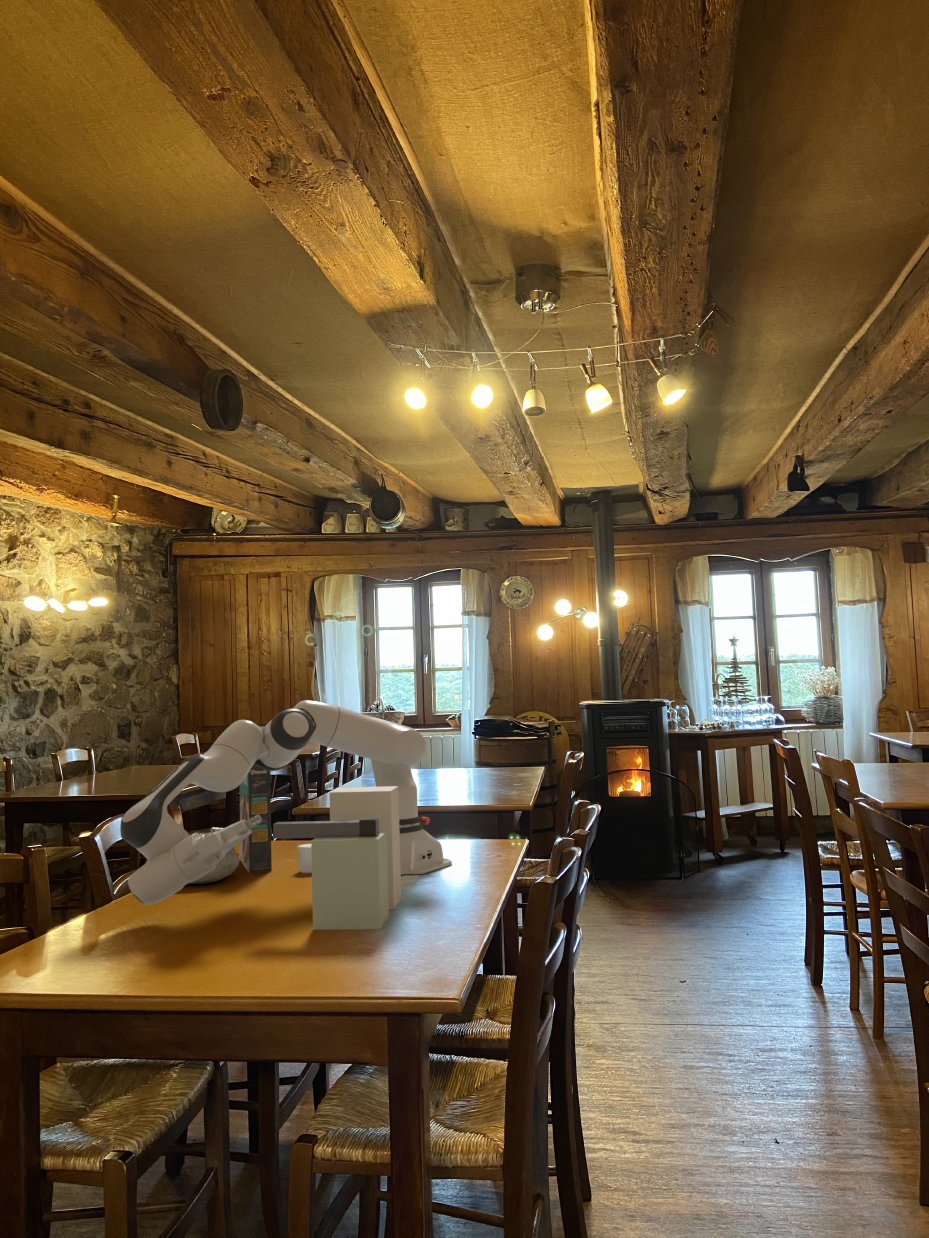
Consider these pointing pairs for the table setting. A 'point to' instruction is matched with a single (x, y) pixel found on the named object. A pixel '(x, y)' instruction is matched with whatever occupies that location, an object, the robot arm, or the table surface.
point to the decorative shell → (221, 868)
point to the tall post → (386, 807)
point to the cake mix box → (259, 841)
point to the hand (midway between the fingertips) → (252, 821)
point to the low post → (350, 882)
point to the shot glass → (305, 858)
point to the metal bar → (327, 829)
